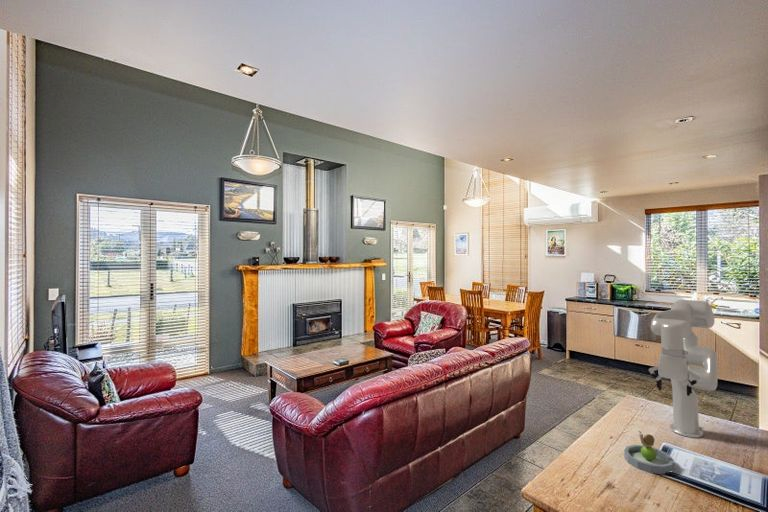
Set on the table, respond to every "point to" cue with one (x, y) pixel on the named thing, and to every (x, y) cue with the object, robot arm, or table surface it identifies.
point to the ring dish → (652, 466)
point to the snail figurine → (647, 446)
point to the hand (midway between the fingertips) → (674, 392)
